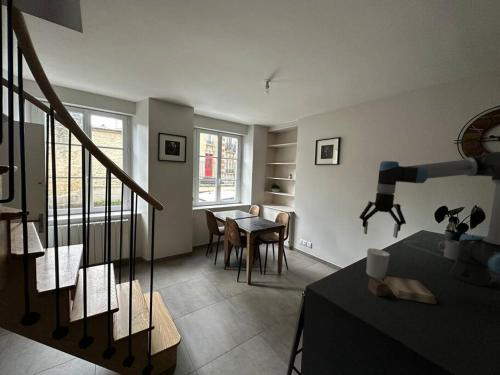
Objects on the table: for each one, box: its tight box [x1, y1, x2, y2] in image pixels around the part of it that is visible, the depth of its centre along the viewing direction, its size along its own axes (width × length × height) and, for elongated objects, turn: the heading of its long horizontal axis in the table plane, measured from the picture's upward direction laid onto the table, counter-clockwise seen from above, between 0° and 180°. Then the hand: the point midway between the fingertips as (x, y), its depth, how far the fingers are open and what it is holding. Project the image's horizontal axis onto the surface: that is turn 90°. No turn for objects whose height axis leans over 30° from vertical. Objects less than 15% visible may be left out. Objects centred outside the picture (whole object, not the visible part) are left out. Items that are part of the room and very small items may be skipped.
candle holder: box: [365, 248, 391, 280], centre depth 110 cm, size 10×10×12 cm
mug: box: [437, 239, 459, 261], centre depth 143 cm, size 12×8×11 cm
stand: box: [383, 275, 437, 305], centre depth 96 cm, size 14×14×3 cm
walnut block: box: [367, 277, 389, 297], centre depth 94 cm, size 5×5×5 cm
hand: (379, 235), depth 109 cm, fingers open, 13 cm apart
